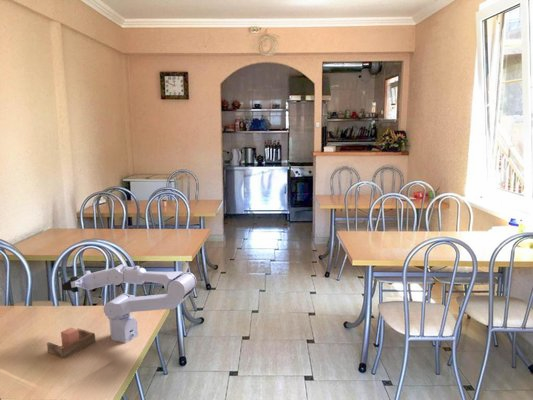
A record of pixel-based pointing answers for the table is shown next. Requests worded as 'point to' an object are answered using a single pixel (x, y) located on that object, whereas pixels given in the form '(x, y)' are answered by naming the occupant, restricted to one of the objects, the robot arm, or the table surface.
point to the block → (69, 336)
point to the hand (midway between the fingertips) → (71, 285)
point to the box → (72, 345)
